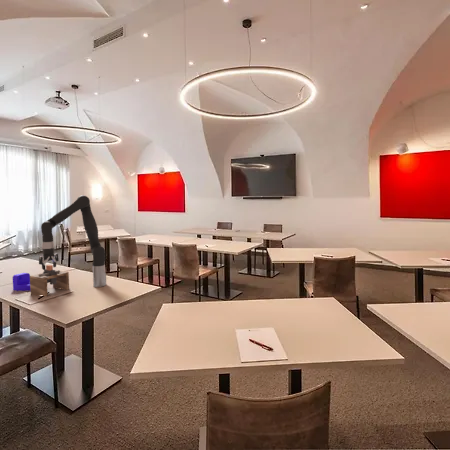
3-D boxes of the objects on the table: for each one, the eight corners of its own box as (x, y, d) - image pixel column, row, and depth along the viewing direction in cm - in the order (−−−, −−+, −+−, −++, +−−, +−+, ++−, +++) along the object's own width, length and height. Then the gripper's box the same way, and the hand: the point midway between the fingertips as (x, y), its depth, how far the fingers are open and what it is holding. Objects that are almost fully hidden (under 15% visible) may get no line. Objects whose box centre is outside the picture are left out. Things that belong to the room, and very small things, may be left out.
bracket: (13, 290, 229) (12, 275, 228) (26, 286, 240) (25, 272, 239) (30, 292, 224) (29, 277, 223) (43, 288, 234) (42, 273, 233)
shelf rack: (55, 287, 237) (54, 268, 236) (69, 289, 231) (68, 270, 229) (30, 294, 219) (29, 274, 217) (45, 297, 212) (44, 276, 211)
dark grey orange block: (48, 281, 228) (47, 264, 227) (56, 283, 224) (55, 265, 223) (43, 283, 224) (42, 265, 223) (51, 284, 221) (50, 266, 219)
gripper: (53, 245, 230) (54, 266, 231) (35, 248, 217) (36, 270, 218) (60, 246, 227) (61, 267, 228) (42, 249, 214) (43, 271, 215)
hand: (49, 268), depth 223 cm, fingers open, 8 cm apart
